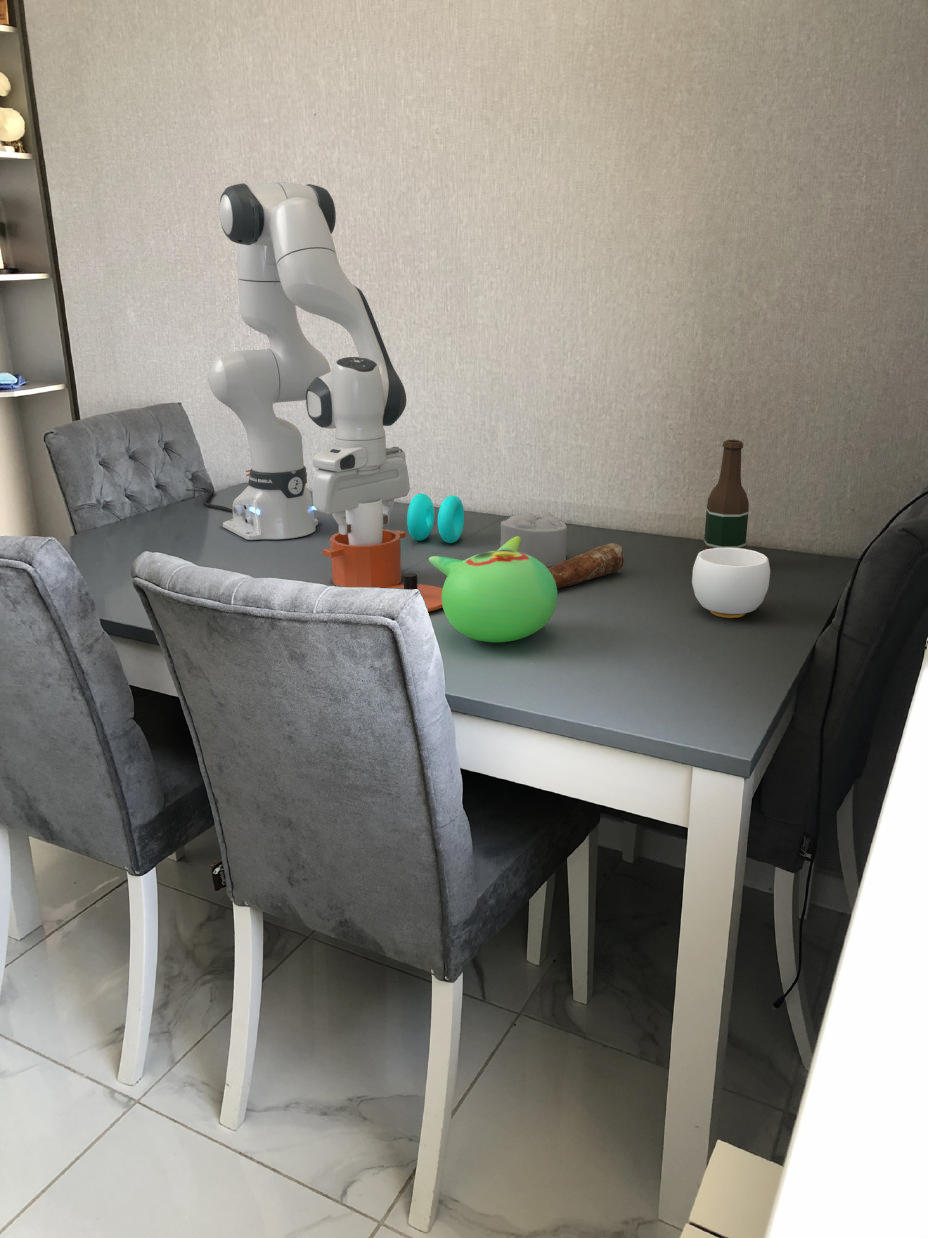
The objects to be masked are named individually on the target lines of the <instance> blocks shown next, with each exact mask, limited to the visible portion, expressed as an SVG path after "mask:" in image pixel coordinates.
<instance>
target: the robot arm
mask: <svg viewBox="0 0 928 1238" xmlns="http://www.w3.org/2000/svg"><path fill="white" fill-rule="evenodd" d="M218 215H219V221H220V225H221V229H222V231H223V233H224V235H225V236H226V237H227V238H228V239H229V240H230V241H231V242H232V243H235V244H238V247H237V287H238V302H239V313H240V317H241V319H242V321H243V322H244V323H245V324H246V325H247V326H248V327H250V328H251V329H253V330H254V331H256V332H258V333H260V334H263V335H265V336H267V338H268V339H267V340H268V343H269V348H267V349H251V350H250V349H248V350H235V351H231V352H227V353H224V354H221V355H217V356H216V357H215V358H213V360H212V362H211V363H210V365H209V369H208V375H207V379H208V384H209V385H208V386H209V388H210V390H211V392H212V394H213V395H214V397H215V398H216V399H217V400H218V401H219V402H220V403H221V404H223V405H225V406H226V407H228V408H229V409H230V410H231V411H232V412H234V414H235V415H236V416H237V417H238V419H239V420H240V421H241V423H242V425H243V427H244V430H245V432H246V437H247V440H248V441H247V442H248V446H249V453H250V462H251V469H249V470H245V473H247V474H245V476H246V477H248V481H247V487H246V488H244V490H243V491H242V492H241V493H240V494H239V495H238V496H237V497H235V499H234V500H233V502H232V508H230V507H227V506H223V505H218V504H212V503H210V502H208V501H209V500H210V498H211V496H213V494H214V491H213V490H212V489H211V488H208V487H206V488H207V489H206V488H200V489H201V490H203V491H206V492H208V494H206V496H205V498H204V499H203V501H202V503H203V504H204V505H205V506H206V507H208V508H213V509H216V510H223V511H227V512H228V513H232V518H230V519H228V520H225V521H223V522H222V528H224V529H226V530H227V531H230V532H232V533H233V534H235V535H237V536H239V537H240V538H243V539H245V540H247V541H257V540H258V541H259V540H288V539H295V538H300V537H305V536H308V535H311V534H313V533H314V532H316V530H317V528H316V527H317V526H318V525H319V520H318V519H317V518H316V517H315V512H314V511H317V512H318V513H321V514H325V515H332V518H333V519H334V520H335V522H336V524H337V525H338V532H339V533H340V534H342V535H346V534H349V533H351V524H347V523H346V518H345V517H346V510H349V509H353V508H357V507H358V505H359V503H372V502H377V501H379V500H380V499H382V506H383V526H385V525H389V524H390V522H391V518H390V517H391V513H392V511H393V509H394V506H395V500H396V499H401V498H403V497H407V496H408V494H409V492H410V488H411V485H410V478H409V477H410V476H409V471H408V466H407V465H408V464H407V462H406V459H407V458H406V453H405V451H404V450H403V449H402V448H400V447H399V446H392V447H387V441H386V431H385V428H384V427H391V426H393V425H394V424H395V423H396V422H397V421H398V420H399V419H400V418H401V417H402V415H403V413H404V411H405V410H406V407H407V393H406V388H405V387H404V384H403V382H402V380H401V378H400V376H399V375H398V373H397V371H396V370H395V367H394V366H393V363H392V360H391V358H390V355H389V353H388V351H387V350H388V349H387V348H386V345H385V343H384V340H383V338H382V335H381V332H380V330H379V328H378V327H379V326H378V325H377V322H376V319H375V317H374V314H373V312H372V309H371V307H370V305H369V302H368V300H367V298H366V296H365V295H364V293H363V290H361V289H360V288H359V287H358V286H356V285H354V284H353V283H352V282H351V281H350V279H349V278H348V277H347V275H346V274H345V272H344V270H343V268H342V267H341V265H340V262H339V258H338V255H337V251H336V247H335V243H334V239H333V236H332V234H333V233H334V231H335V227H336V219H337V212H336V205H335V201H334V199H333V197H332V195H331V194H330V192H329V190H327V189H326V188H324V187H322V186H319V185H316V184H312V183H307V184H302V183H295V182H283V181H275V182H262V183H251V184H246V183H237V184H236V183H235V184H232V185H230V186H227V187H226V188H225V189H224V190H223V192H222V193H221V196H220V198H219V206H218ZM297 307H298V308H299V309H301V310H302V311H305V312H307V313H309V314H313V315H315V316H318V317H322V318H324V319H327V320H330V321H332V322H334V323H336V324H338V325H339V326H341V327H342V328H344V330H346V331H347V333H349V335H350V337H351V339H352V341H353V344H354V346H355V349H356V352H357V354H358V356H348V357H347V356H346V357H342V358H339V359H337V360H336V361H335V362H334V364H333V368H332V369H331V366H330V363H329V360H328V359H327V358H326V356H325V355H324V353H322V352H321V351H320V350H319V349H317V348H316V347H315V346H314V345H313V344H312V343H311V342H310V341H309V339H307V337H306V336H305V334H304V332H303V330H302V328H301V326H300V323H299V320H298V315H297ZM303 401H305V405H306V412H307V416H308V418H309V419H310V420H311V421H312V422H313V423H314V424H316V425H317V426H318V427H319V428H321V429H328V430H331V429H332V430H333V429H335V435H334V438H335V439H334V440H335V442H334V443H331V445H329V446H328V447H326V448H324V449H323V450H322V451H320V452H318V453H316V454H315V455H314V456H312V465H313V467H314V468H317V469H316V470H315V471H314V472H313V476H312V481H311V482H312V485H311V486H312V487H311V489H312V490H310V489H309V488H308V487H307V484H308V472H307V467H306V466H305V464H304V449H303V448H304V447H303V436H302V432H301V431H300V429H299V428H298V427H297V425H295V424H293V422H290V421H288V420H286V419H284V418H281V417H278V416H277V415H276V414H275V411H274V404H276V403H277V404H279V403H288V402H289V403H290V402H291V403H292V402H303ZM196 488H198V487H196ZM198 489H199V488H198ZM311 491H312V493H311ZM311 494H312V495H311Z"/></svg>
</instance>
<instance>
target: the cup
mask: <svg viewBox="0 0 928 1238" xmlns="http://www.w3.org/2000/svg"><path fill="white" fill-rule="evenodd" d="M769 561H770V560H769V558H768V557H767V556H766V555H765V554H763V553H761V552H759V551H756V550H752V549H746V548H745V549H741V548H712V549H706V550H704V551H703V550H702V551H699V552H698V553H697V556H696V557H695V560H694V564H693V567H692V576H691V584H692V585H691V586H692V589H693V593H694V597H695V598H696V600H697V601H698V603H699V604H700V606H701V607H702V608H704V609H706V610H708V611H709V612H710V613H711V614H712V615H714V616H716V617H720V618H726V619H737V618H742V617H744V616H745V615H746V614H747V613H751V612H753V611H755V610H757V609H758V608H759V607H760V606H761V604H763V602H764V599H765V598H766V595H767V592H768V590H769V587H770V578H771V567H770V562H769Z"/></svg>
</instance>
